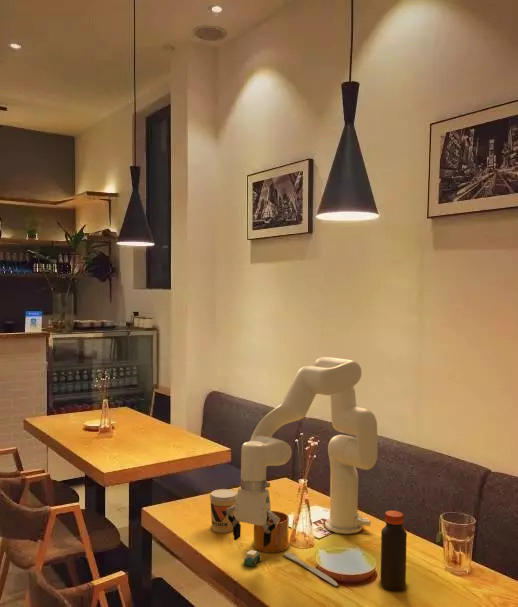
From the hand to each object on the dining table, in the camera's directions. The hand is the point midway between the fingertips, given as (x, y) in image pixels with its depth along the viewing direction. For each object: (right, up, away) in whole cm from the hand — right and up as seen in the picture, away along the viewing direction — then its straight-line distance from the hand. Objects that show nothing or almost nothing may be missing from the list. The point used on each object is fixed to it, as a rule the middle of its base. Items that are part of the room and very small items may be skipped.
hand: (251, 541), depth 177 cm
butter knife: (+17, -7, -3) cm, 19 cm away
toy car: (0, -7, 0) cm, 7 cm away
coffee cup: (-10, -6, +26) cm, 29 cm away
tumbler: (+6, -6, +13) cm, 16 cm away
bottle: (+39, -8, -12) cm, 42 cm away
